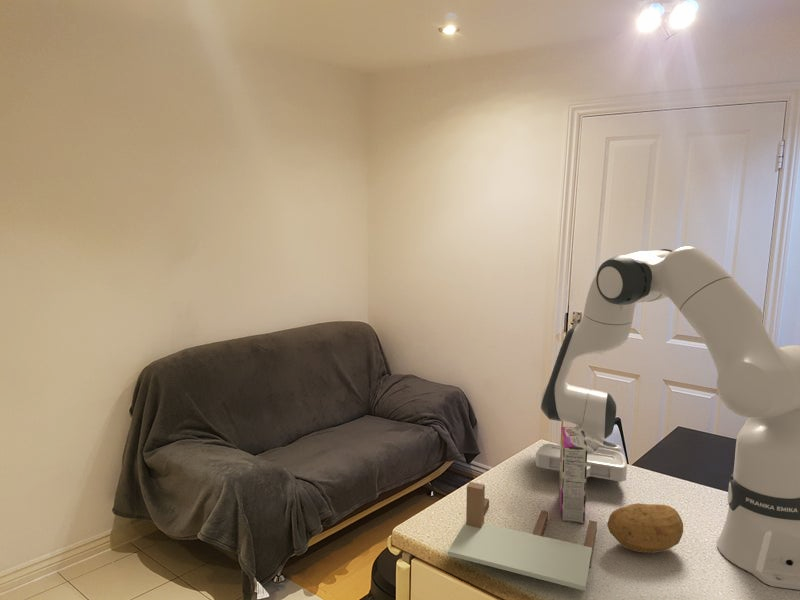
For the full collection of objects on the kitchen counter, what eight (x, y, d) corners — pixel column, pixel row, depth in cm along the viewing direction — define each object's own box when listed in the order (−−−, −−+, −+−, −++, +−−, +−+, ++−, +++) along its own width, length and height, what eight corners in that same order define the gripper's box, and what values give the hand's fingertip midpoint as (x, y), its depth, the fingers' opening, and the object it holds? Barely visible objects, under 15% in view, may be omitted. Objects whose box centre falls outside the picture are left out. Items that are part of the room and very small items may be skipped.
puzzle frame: (596, 530, 110) (597, 521, 109) (590, 568, 98) (590, 557, 98) (482, 506, 119) (482, 497, 119) (464, 537, 107) (464, 528, 107)
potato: (595, 535, 108) (597, 497, 107) (663, 531, 109) (666, 494, 108) (619, 566, 98) (622, 524, 97) (694, 561, 100) (697, 520, 99)
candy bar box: (557, 495, 124) (560, 425, 121) (580, 497, 123) (584, 427, 120) (559, 521, 113) (562, 445, 111) (585, 524, 112) (589, 448, 109)
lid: (591, 551, 99) (594, 506, 98) (585, 590, 89) (587, 540, 87) (466, 523, 109) (467, 481, 107) (447, 555, 98) (448, 509, 97)
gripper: (541, 433, 138) (530, 455, 126) (628, 447, 130) (626, 471, 118) (540, 457, 139) (529, 480, 127) (627, 472, 131) (624, 498, 119)
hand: (576, 476), depth 122 cm, fingers closed
